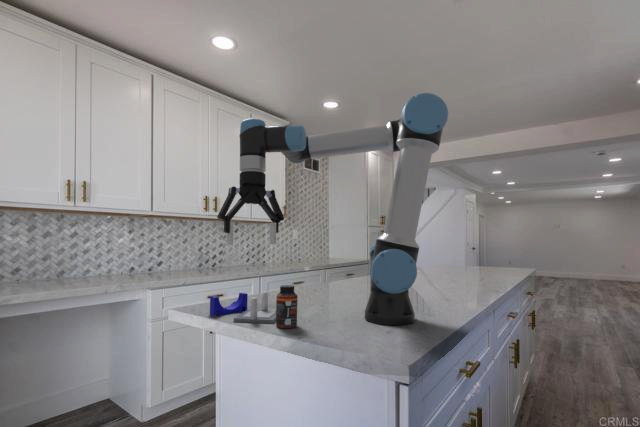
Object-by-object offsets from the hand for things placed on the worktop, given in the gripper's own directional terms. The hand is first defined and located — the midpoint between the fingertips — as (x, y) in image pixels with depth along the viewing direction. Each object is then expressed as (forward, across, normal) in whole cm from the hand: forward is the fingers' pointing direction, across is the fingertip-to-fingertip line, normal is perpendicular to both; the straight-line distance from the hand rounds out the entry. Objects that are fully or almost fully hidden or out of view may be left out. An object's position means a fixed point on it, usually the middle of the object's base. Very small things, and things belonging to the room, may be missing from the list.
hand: (252, 244), depth 100 cm
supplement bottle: (+23, -7, +7) cm, 25 cm away
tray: (+23, -6, -6) cm, 24 cm away
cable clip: (+23, 0, -19) cm, 30 cm away
